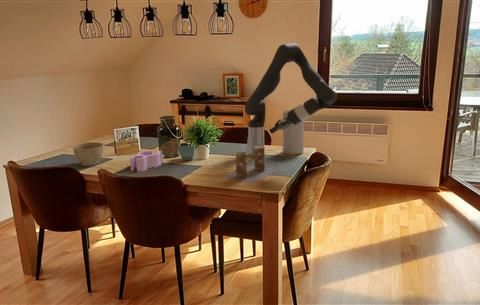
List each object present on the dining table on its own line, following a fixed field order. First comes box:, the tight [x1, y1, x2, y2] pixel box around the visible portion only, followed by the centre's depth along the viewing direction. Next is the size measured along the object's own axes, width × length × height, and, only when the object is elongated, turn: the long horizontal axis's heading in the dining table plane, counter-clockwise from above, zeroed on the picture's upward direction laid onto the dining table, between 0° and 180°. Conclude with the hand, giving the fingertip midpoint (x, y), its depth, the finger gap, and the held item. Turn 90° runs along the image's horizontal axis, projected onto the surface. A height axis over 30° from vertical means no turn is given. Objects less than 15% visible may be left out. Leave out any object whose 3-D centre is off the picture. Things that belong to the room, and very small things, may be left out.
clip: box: [129, 149, 164, 172], centre depth 216 cm, size 20×12×7 cm, turn 155°
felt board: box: [223, 164, 279, 184], centre depth 198 cm, size 17×25×1 cm
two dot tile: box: [254, 145, 266, 171], centre depth 202 cm, size 5×5×12 cm
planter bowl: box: [72, 141, 104, 167], centre depth 223 cm, size 16×16×11 cm
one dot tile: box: [235, 151, 248, 179], centre depth 191 cm, size 5×5×12 cm
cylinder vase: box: [282, 109, 305, 156], centre depth 237 cm, size 12×12×25 cm
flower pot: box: [178, 142, 196, 161], centre depth 229 cm, size 9×9×9 cm
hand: (270, 131), depth 200 cm, fingers closed
